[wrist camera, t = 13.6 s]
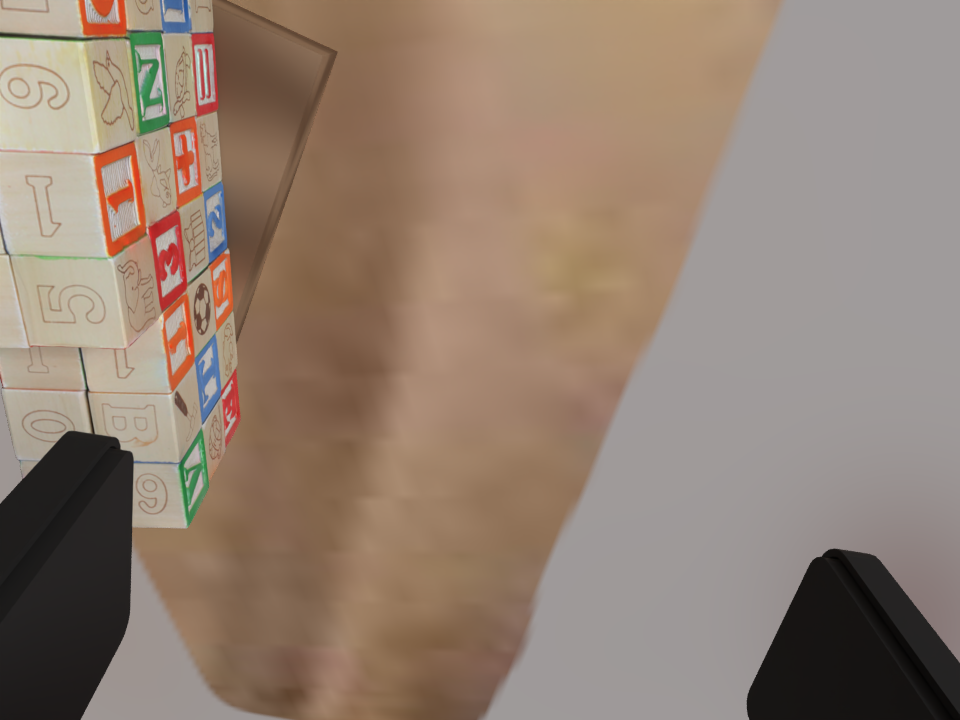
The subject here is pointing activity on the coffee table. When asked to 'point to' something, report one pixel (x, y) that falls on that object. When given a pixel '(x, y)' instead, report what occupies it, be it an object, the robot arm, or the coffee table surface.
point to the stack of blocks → (116, 241)
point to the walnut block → (261, 130)
